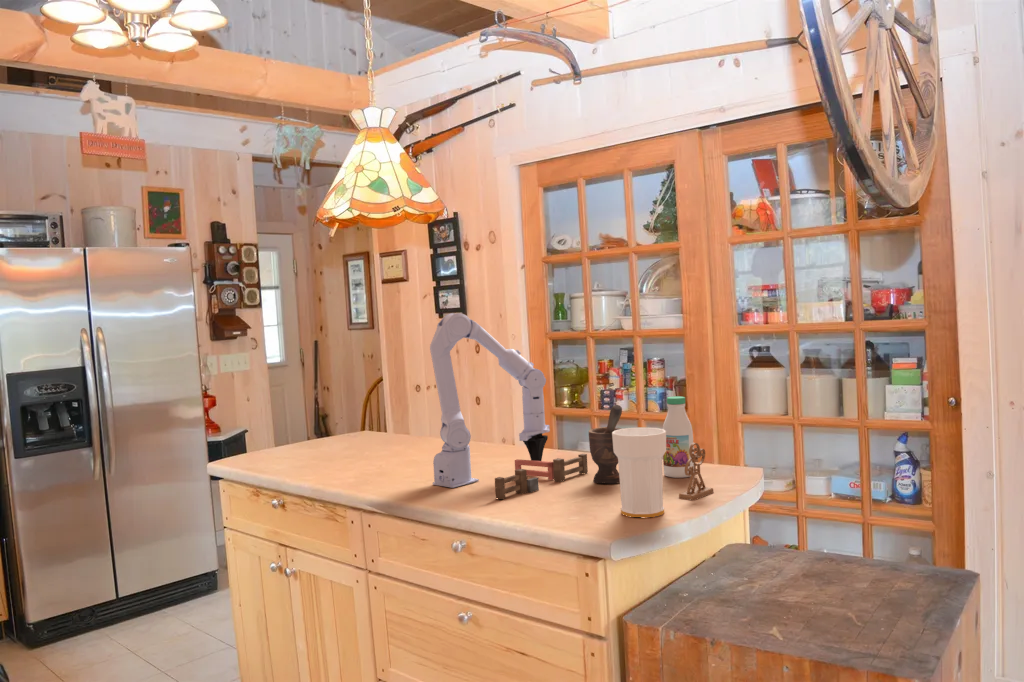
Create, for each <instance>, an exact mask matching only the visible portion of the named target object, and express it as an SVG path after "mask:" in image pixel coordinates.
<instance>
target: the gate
mask: <svg viewBox="0 0 1024 682" xmlns="http://www.w3.org/2000/svg"><path fill="white" fill-rule="evenodd" d="M522 466H526V467H528V466H529V467H542V468H547V471H546V470H535V469H526V471H527V477H528V476H529V477H530V476H531V477H541V478H542V477H543V478H547V480H551V481H552V480H553V481H554V468H553V461H548V460H546V461H544V460H541V461H533V460H531V459H530V460H529V459H515V460H514V471H515V470H518V469H522Z"/></svg>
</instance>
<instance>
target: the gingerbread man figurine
mask: <svg viewBox="0 0 1024 682" xmlns="http://www.w3.org/2000/svg"><path fill="white" fill-rule="evenodd" d="M693 446H694V449H693ZM695 446H696V447H695ZM692 452H694V454H693V453H692ZM689 454H690V457H691V459H689V460H688V461H687V463H686V465H685V475H688V476H690V475H691V477H689V478H690V479H689V481H688V485H687V490H686V491H683V492H681V493H679V494H678V498H679V499H681V498H684V499H683V500H687V499H691V500H690V501H696V500H698V499H701V498H703V497H706V496H709V495H711V494H713V493H714V488H713V487H708V486H706V484H705V481H704V479H703V477H702V474H701V465H702V464H704V462H705V459H706V451H705V448H701V447H700V444H699V443H697V442H693V443H692V444H691V446H690V449H689ZM700 458H701V459H700ZM699 459H700V461H699ZM691 461H692V463H694V464H693V465H694V467H693V466H690V467H689V469H688V465H689V463H690V462H691ZM688 471H689V472H688ZM695 476H698V478H699V479H698V478H697V477H695ZM699 481H700V482H699ZM696 486H697V487H696ZM712 492H713V493H712ZM710 493H711V494H710ZM708 494H709V495H708ZM705 495H706V496H705ZM702 496H703V497H702ZM700 497H701V498H700ZM697 498H698V499H697ZM695 499H696V500H695Z"/></svg>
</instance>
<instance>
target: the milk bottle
mask: <svg viewBox="0 0 1024 682" xmlns="http://www.w3.org/2000/svg"><path fill="white" fill-rule="evenodd" d="M666 407H667V408H668V409H667V414H666V417H665V420H664V422H663V425H662V429H664V430H665V431H666V452H665V453H664V455H663V456H662V466H663V474H664V476H666V477H668V478H675V479H677V478H679V479H682V478H691V475H690V476H688V475H685V465H686V463H687V461H688V460H689V459H691V457H690V454H689V449H690V446H691V444H692V443H694V431H693V425H692V423H691V421H690V419H689V417H688V415H687V411H686V408H685V407H686V397H685V396H668V397H666ZM694 448H695V445H694V446H693V449H694ZM692 453H693V454H695V452H692ZM693 464H694V463H692V461H691V462H690V463H689V465H688V469H689V467H690V466H693V467H694V465H693ZM688 472H689V471H688Z"/></svg>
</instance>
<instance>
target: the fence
mask: <svg viewBox="0 0 1024 682" xmlns="http://www.w3.org/2000/svg"><path fill="white" fill-rule="evenodd" d="M552 462H553V468H554V479H553V481H554V480H555V481H554V482H558V481H561V482H564V481H563V480H565V481H566V476H568V475H572V474H575V473H586V474H588V473H589V472H588V471H589V470H588V469H589V468H588V454H587V453H580V454H578V456H577V457H574V458H570V459H567V460H565V458H561V457H560V458H559V457H557V458H554V459H552ZM576 463H578V466H576V467H572V468H569V469H565V467H566V466H570V465H572V464H576ZM526 470H527V469H524V468H521V469H518V470H515V469H514V474H513V475H510V476H508V477H507V476H506V477H503V476H498V477H495V478H494V489H495V490H494V492H495V499H496V498H498V499H503V498H505V499H506V495H507V494H510V493H513V492H515V493H516V492H517V493H516V494H521V493H523V494H526V493H533V491H534V492H537V491H539V489H540V487H539V485H540V484H539V477H537V476H534V477H532V478H528V475H527V471H526ZM587 472H588V473H587ZM514 481H515V482H514ZM510 482H514V483H515V485H512V486H509V487H506V485H505V484H508V483H510ZM536 490H537V491H536ZM525 492H526V493H525ZM503 500H504V499H503Z"/></svg>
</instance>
